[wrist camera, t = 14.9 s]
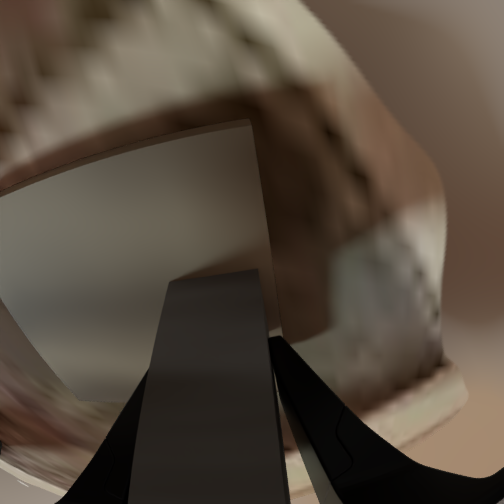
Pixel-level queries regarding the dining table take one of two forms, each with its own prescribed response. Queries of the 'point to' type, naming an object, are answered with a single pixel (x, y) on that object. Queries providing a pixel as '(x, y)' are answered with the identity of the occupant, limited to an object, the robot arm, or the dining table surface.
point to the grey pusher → (159, 305)
